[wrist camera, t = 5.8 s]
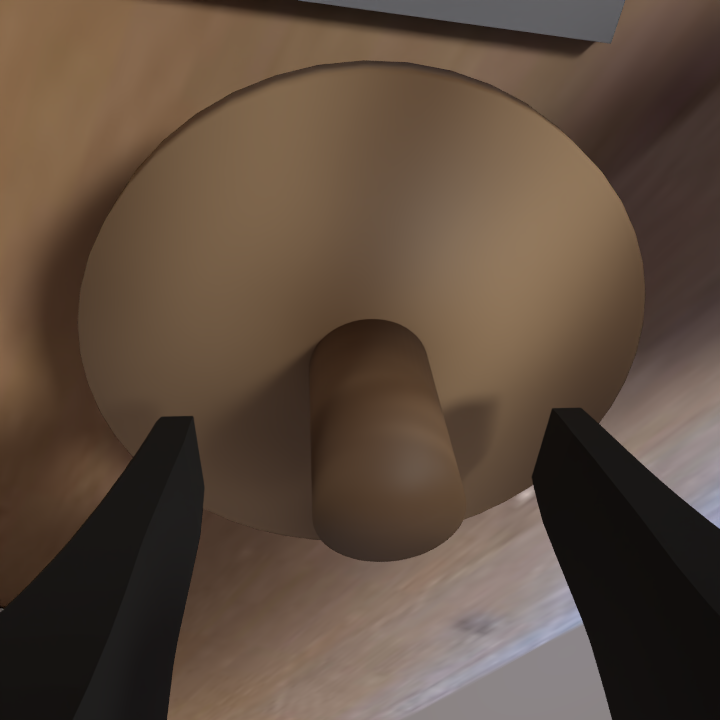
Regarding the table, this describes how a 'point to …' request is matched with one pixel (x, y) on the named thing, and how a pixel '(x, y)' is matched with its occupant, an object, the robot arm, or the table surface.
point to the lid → (362, 300)
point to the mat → (510, 14)
